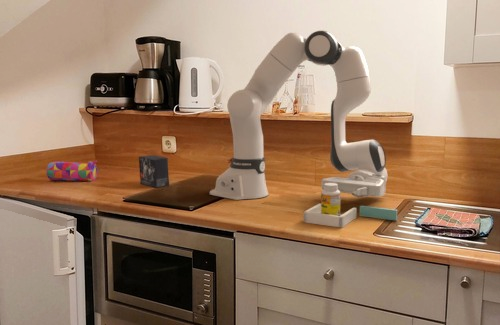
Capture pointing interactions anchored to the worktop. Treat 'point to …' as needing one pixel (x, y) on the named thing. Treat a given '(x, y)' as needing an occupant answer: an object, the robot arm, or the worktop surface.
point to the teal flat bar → (378, 212)
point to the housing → (328, 217)
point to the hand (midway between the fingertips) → (341, 190)
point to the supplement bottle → (330, 199)
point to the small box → (154, 171)
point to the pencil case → (72, 171)
